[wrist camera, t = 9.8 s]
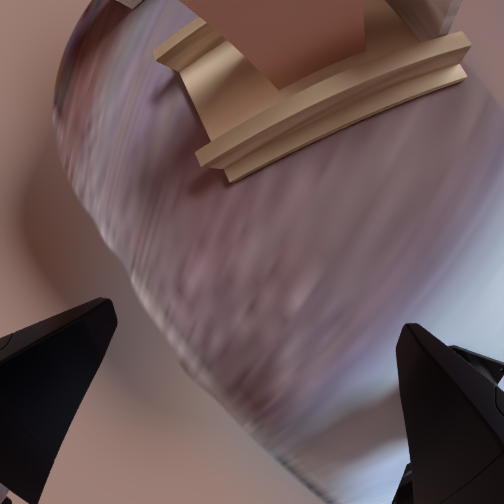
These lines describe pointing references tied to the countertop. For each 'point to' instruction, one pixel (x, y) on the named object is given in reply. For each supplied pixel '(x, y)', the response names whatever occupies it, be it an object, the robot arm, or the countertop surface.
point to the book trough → (312, 83)
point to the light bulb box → (130, 3)
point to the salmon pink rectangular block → (287, 33)
